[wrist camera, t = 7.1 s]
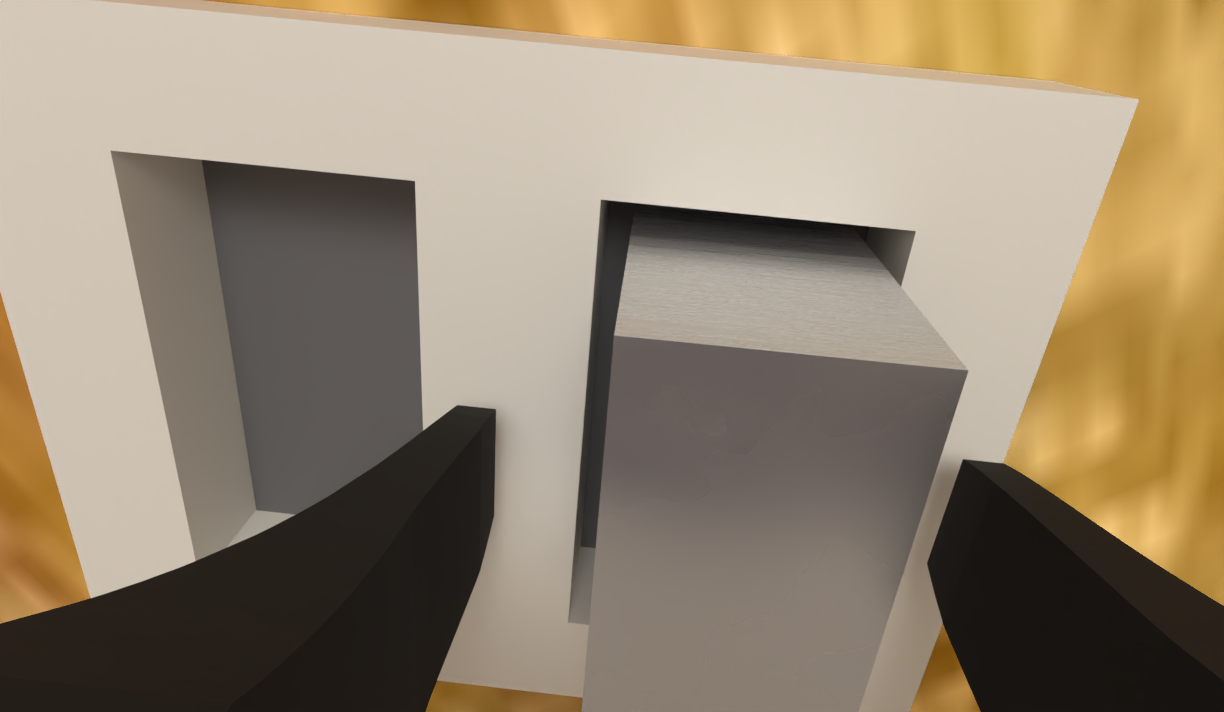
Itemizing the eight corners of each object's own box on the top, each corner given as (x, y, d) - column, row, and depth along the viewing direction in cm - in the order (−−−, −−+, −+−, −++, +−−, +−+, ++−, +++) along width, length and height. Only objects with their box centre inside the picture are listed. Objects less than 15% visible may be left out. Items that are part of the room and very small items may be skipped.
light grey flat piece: (175, 559, 18) (103, 641, 15) (48, -15, 12) (-91, -17, 10) (870, 639, 17) (900, 735, 15) (1050, 80, 12) (1139, 98, 10)
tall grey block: (606, 519, 16) (574, 788, 10) (636, 193, 13) (614, 335, 7) (771, 536, 16) (825, 817, 10) (840, 213, 13) (968, 370, 7)
